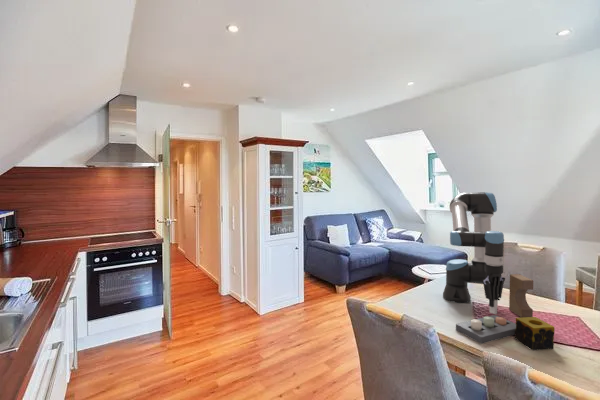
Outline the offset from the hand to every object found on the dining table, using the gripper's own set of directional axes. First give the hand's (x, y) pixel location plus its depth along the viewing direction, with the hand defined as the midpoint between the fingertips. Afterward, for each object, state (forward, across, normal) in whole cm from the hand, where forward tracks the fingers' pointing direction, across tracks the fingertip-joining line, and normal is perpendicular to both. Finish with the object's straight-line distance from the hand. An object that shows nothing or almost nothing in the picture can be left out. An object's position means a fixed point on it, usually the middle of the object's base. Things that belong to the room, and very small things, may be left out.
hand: (493, 312), depth 149 cm
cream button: (+7, -10, +1) cm, 12 cm away
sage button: (+7, -2, 0) cm, 7 cm away
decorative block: (+9, +30, +7) cm, 32 cm away
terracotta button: (+8, +6, 0) cm, 10 cm away
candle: (+9, +5, -15) cm, 18 cm away
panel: (+9, -2, 0) cm, 9 cm away
